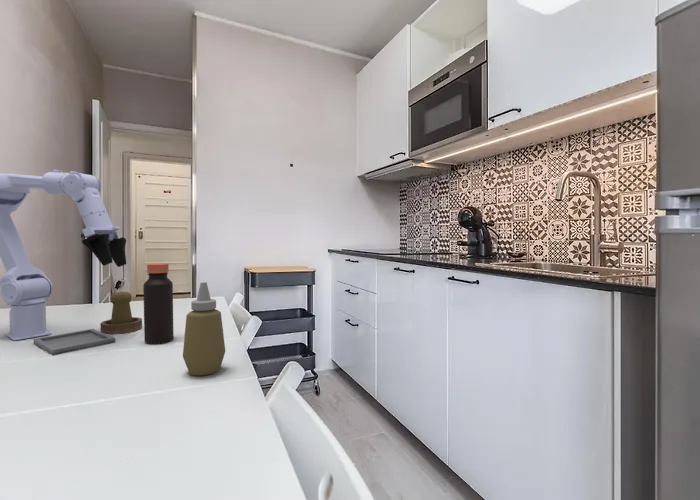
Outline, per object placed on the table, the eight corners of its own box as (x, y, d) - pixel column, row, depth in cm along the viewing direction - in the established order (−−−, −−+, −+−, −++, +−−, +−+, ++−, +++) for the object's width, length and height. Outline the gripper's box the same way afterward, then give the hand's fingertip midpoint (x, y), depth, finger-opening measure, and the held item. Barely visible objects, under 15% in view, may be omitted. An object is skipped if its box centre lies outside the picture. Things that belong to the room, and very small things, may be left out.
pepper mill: (122, 332, 105) (121, 293, 104) (104, 331, 106) (103, 293, 105) (138, 327, 110) (138, 290, 110) (121, 326, 112) (120, 290, 111)
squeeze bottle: (190, 364, 79) (189, 280, 78) (229, 363, 80) (229, 280, 79) (176, 379, 71) (175, 285, 70) (219, 378, 72) (218, 285, 71)
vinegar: (152, 346, 92) (150, 265, 91) (139, 341, 96) (138, 264, 95) (178, 340, 98) (177, 264, 97) (165, 335, 102) (164, 262, 101)
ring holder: (95, 330, 107) (95, 321, 107) (132, 323, 115) (132, 315, 115) (109, 336, 101) (109, 327, 101) (147, 328, 109) (147, 320, 109)
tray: (33, 343, 94) (33, 338, 94) (92, 332, 104) (92, 328, 104) (52, 355, 85) (52, 350, 85) (115, 342, 95) (115, 337, 95)
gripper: (96, 205, 90) (117, 256, 90) (123, 215, 105) (142, 260, 104) (66, 216, 89) (87, 268, 89) (98, 225, 103) (116, 270, 103)
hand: (115, 264), depth 96 cm, fingers open, 7 cm apart
